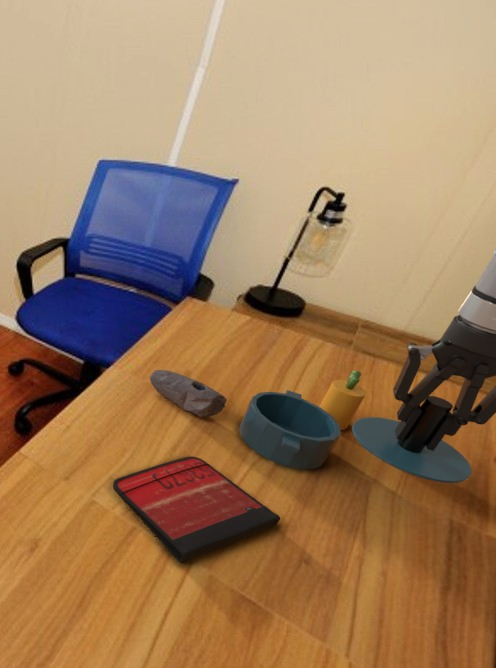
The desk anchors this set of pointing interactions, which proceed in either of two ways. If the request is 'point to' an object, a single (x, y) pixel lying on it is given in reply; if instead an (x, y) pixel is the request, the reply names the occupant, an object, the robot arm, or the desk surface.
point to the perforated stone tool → (188, 393)
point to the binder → (192, 506)
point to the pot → (289, 430)
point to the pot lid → (415, 444)
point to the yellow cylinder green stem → (343, 399)
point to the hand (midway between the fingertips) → (413, 440)
